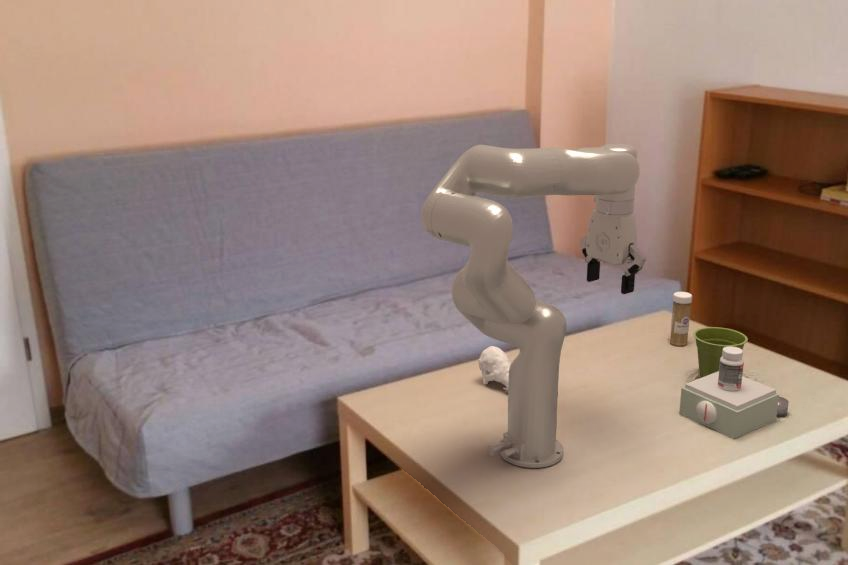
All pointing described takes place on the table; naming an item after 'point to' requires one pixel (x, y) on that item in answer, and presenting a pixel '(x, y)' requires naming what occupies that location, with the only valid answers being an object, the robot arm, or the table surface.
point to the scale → (729, 405)
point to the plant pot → (715, 346)
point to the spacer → (782, 407)
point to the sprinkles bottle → (680, 318)
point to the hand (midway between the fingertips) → (609, 286)
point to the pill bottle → (731, 369)
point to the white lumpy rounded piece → (494, 366)
